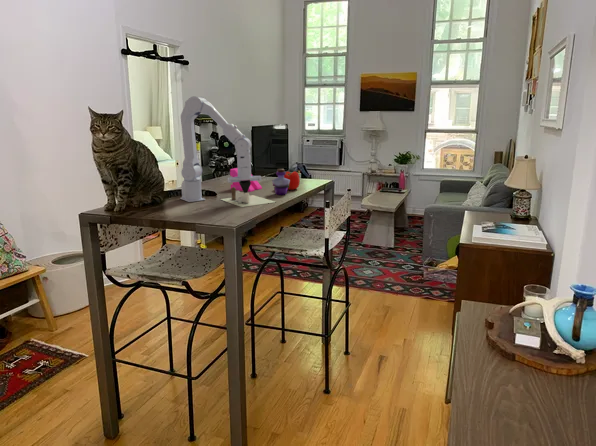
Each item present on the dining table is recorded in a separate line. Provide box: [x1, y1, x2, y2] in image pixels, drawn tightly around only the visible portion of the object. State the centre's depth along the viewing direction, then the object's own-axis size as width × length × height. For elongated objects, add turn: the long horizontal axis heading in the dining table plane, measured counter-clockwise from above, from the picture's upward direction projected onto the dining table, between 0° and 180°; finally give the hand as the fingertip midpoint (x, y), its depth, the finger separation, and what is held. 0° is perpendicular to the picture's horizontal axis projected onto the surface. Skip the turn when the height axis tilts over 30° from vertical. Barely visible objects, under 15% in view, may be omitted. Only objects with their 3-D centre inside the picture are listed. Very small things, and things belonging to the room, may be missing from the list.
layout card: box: [219, 194, 276, 208], centre depth 197 cm, size 19×17×1 cm
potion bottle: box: [271, 168, 290, 196], centre depth 212 cm, size 9×9×12 cm
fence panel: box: [236, 190, 250, 203], centre depth 193 cm, size 8×1×4 cm, turn 46°
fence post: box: [230, 187, 237, 200], centre depth 197 cm, size 2×2×6 cm
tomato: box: [284, 171, 301, 191], centre depth 226 cm, size 11×12×9 cm
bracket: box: [229, 167, 263, 193], centre depth 225 cm, size 12×10×10 cm
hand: (245, 198), depth 195 cm, fingers closed, pressing on fence panel
